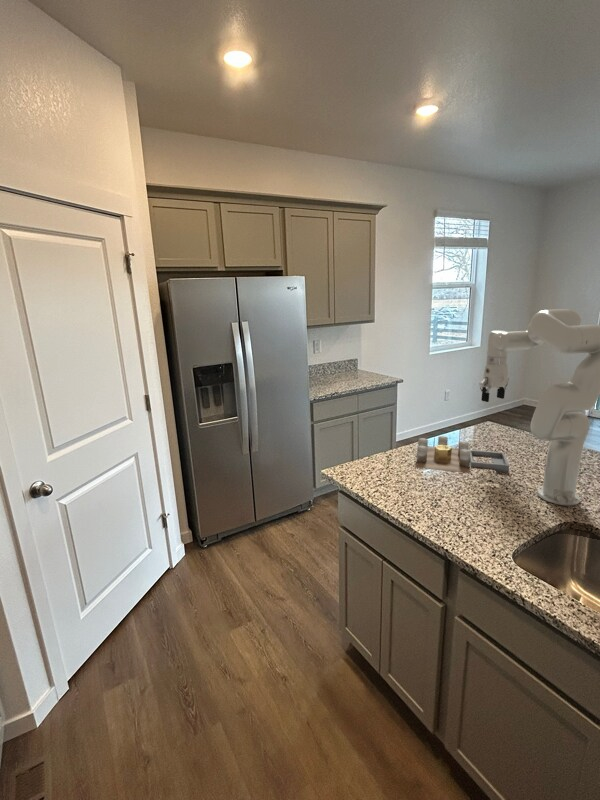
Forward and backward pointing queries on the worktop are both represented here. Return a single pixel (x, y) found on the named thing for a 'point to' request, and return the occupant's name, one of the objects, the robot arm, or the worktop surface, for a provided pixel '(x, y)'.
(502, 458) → the tray
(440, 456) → the faceted yellow gem
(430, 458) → the board
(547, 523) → the worktop surface
